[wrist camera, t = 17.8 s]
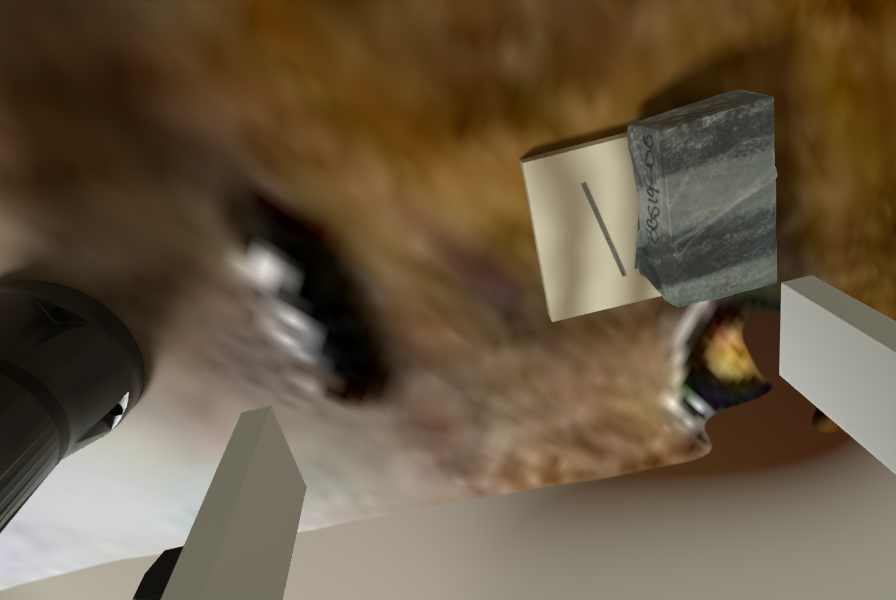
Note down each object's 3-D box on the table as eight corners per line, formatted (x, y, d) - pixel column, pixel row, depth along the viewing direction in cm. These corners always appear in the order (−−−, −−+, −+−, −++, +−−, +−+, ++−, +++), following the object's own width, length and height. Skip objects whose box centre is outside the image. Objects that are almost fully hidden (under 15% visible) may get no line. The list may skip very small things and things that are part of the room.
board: (548, 314, 50) (552, 321, 49) (519, 159, 44) (522, 163, 43) (739, 268, 49) (748, 275, 48) (734, 104, 44) (744, 106, 42)
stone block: (640, 290, 48) (664, 317, 43) (615, 121, 42) (639, 131, 38) (745, 262, 48) (781, 287, 43) (734, 87, 42) (775, 92, 37)
